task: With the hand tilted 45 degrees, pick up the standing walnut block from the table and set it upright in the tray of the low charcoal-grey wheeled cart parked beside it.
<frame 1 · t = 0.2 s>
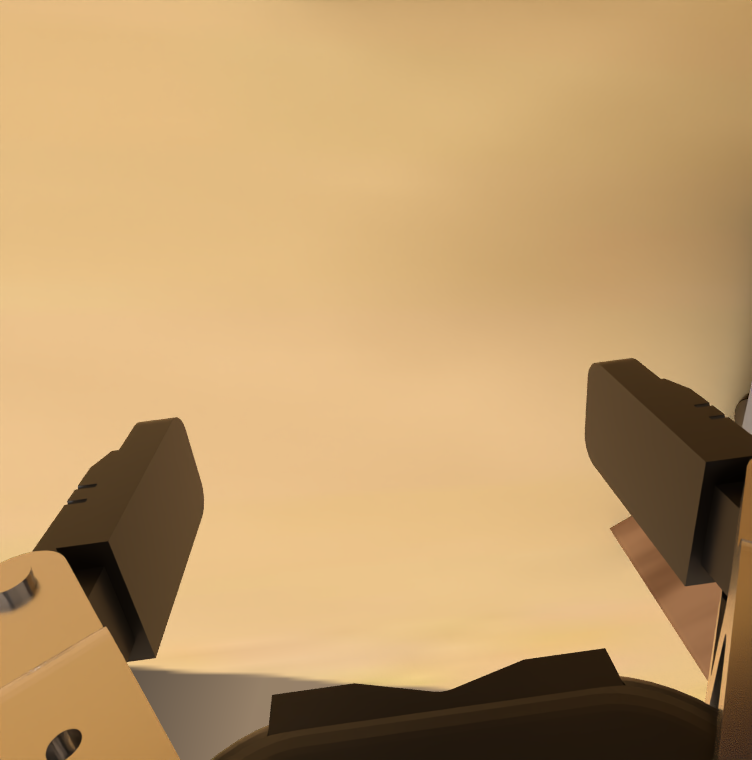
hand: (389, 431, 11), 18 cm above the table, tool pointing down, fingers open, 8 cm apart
walnut block: (658, 530, 38), on the table
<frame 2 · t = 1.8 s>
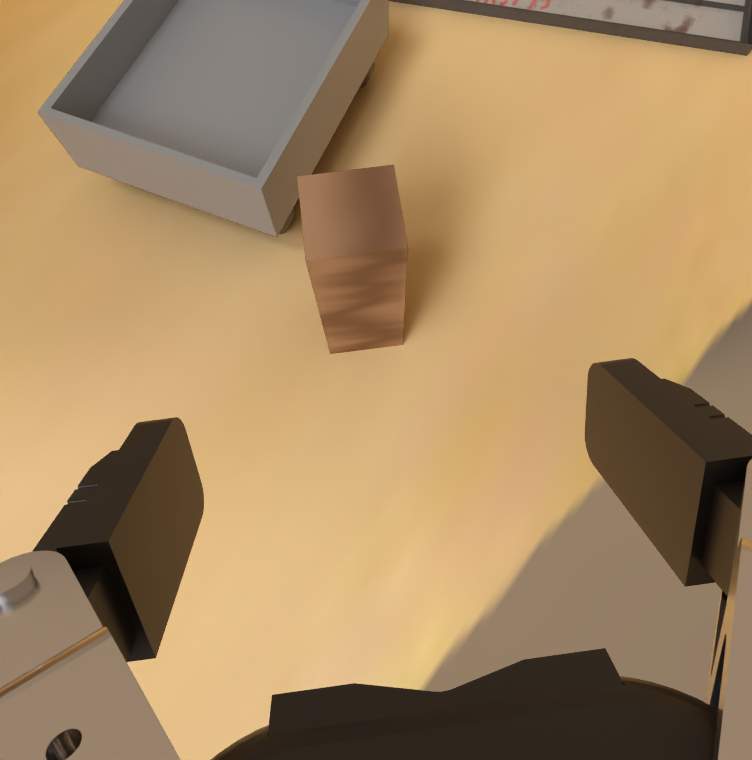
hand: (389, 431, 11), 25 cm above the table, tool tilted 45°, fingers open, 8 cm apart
parts cart: (249, 127, 45), on the table
walnut block: (362, 316, 39), on the table
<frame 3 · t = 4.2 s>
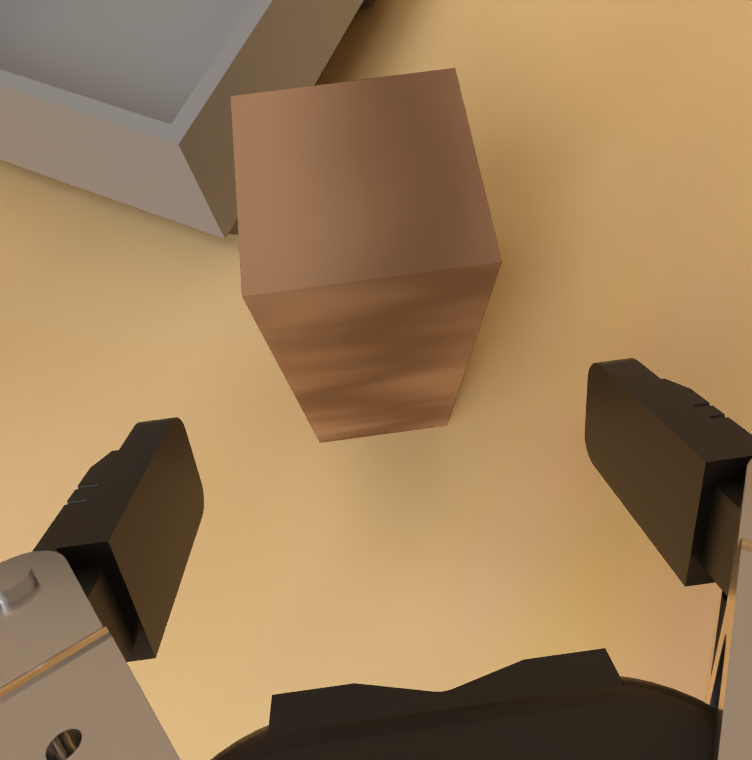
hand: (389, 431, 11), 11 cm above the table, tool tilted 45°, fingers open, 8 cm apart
parts cart: (194, 68, 29), on the table
walnut block: (375, 374, 23), on the table
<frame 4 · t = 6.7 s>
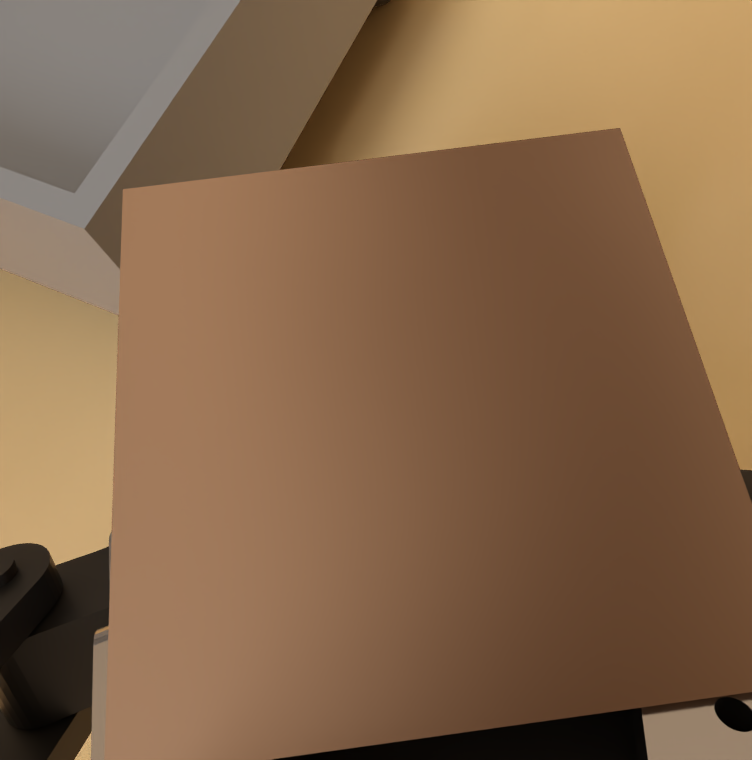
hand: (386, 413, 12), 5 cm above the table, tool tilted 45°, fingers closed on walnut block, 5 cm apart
parts cart: (156, 83, 22), on the table
walnut block: (398, 526, 16), on the table, touching gripper
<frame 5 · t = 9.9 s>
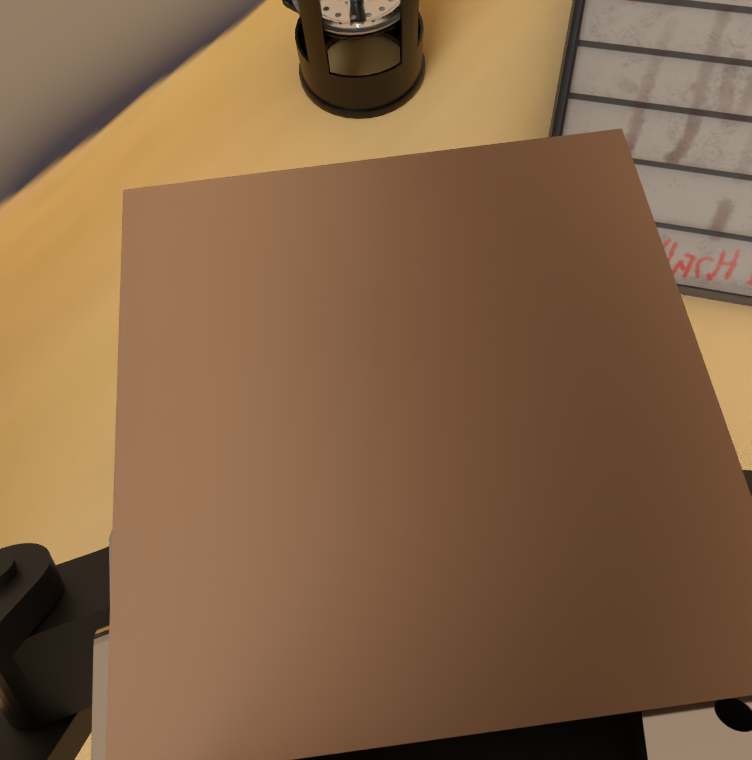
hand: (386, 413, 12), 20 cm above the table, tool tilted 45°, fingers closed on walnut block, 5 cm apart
french press: (357, 69, 42), on the table
walnut block: (398, 526, 16), point 15 cm above the table, touching gripper
when the fingers open (12 cm above the table, at t = 13.0 s): walnut block drops 1 cm, resting on parts cart.
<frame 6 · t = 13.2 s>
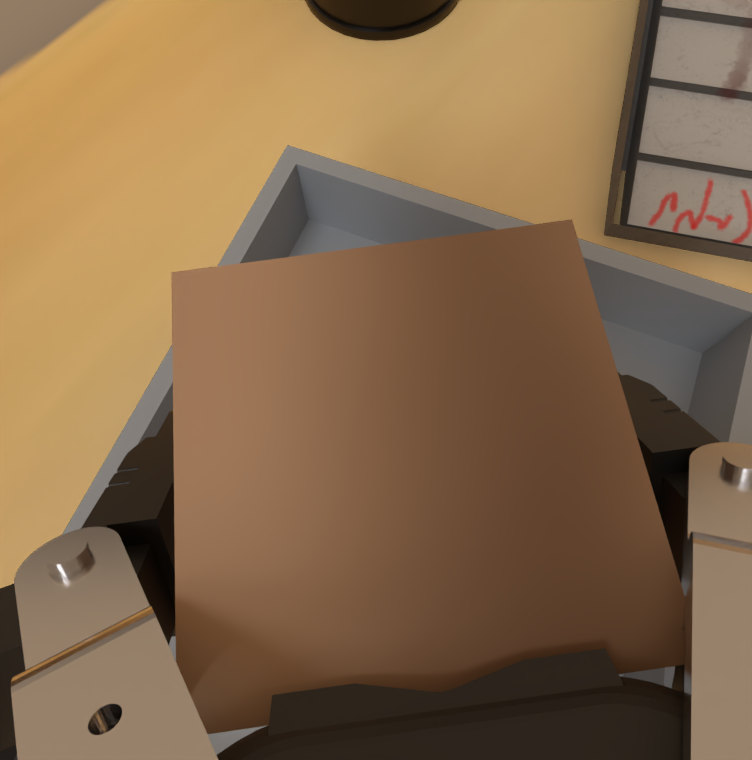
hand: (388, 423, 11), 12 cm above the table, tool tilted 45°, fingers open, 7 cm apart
parts cart: (396, 541, 22), on the table
walnut block: (396, 532, 17), point 5 cm above the table, touching parts cart
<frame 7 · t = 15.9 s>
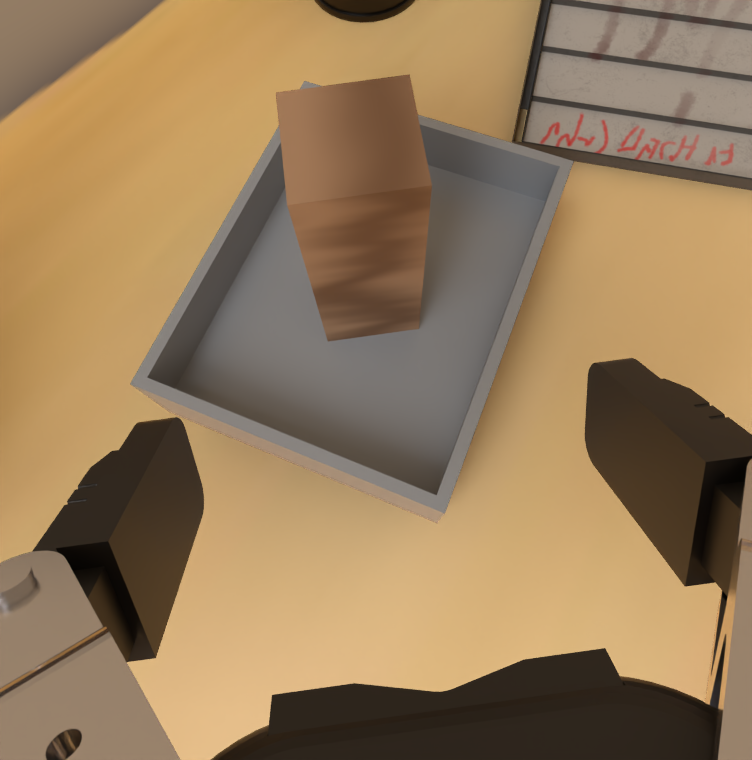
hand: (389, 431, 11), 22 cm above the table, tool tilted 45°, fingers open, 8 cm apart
parts cart: (371, 330, 36), on the table
shutter: (741, 30, 44), on the table
walnut block: (367, 294, 31), point 5 cm above the table, touching parts cart
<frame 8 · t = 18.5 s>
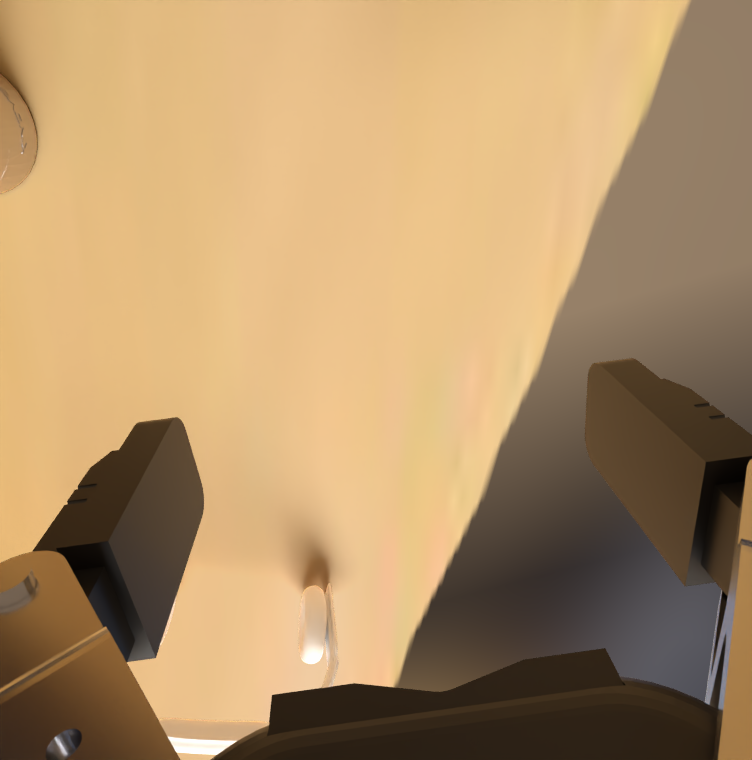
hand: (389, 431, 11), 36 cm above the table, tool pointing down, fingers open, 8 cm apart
headset: (243, 579, 60), on the table
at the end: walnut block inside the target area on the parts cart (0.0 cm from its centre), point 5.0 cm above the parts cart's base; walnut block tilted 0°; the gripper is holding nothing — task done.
